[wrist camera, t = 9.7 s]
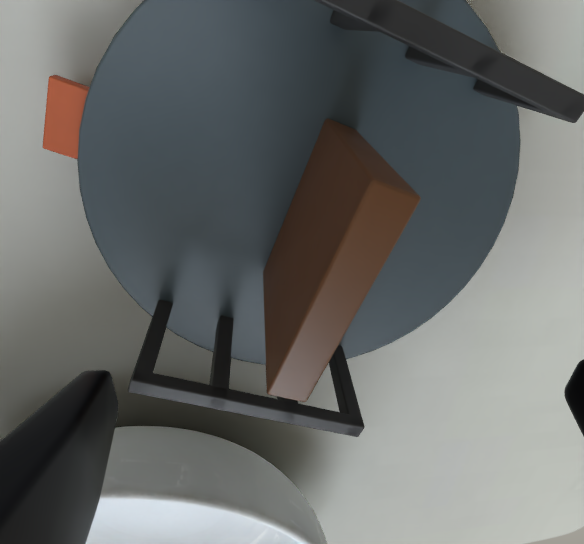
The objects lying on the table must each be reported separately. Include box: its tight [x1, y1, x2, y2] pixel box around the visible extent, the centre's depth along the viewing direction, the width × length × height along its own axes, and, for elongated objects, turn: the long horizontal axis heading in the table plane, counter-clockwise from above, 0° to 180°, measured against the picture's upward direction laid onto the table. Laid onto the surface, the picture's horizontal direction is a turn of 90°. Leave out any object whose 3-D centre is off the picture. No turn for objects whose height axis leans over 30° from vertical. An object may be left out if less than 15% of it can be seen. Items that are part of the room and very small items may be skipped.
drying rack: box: [43, 0, 584, 437], centre depth 13 cm, size 17×16×7 cm
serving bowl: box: [86, 426, 327, 544], centre depth 24 cm, size 21×21×7 cm
